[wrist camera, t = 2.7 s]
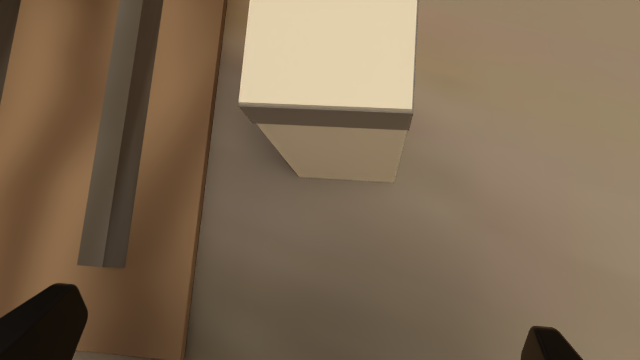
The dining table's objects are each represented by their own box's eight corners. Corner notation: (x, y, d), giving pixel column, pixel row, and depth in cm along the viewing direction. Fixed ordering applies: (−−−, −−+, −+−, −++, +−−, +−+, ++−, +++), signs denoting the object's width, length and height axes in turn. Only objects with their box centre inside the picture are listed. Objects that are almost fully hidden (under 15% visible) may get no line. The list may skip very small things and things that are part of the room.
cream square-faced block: (298, 177, 24) (236, 103, 13) (305, 98, 25) (252, -35, 14) (395, 183, 23) (414, 111, 13) (399, 101, 24) (420, -34, 13)
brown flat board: (-118, 327, 25) (-172, 333, 22) (-31, -62, 28) (-69, -93, 26) (184, 359, 23) (161, 370, 20) (234, -62, 27) (220, -95, 24)
